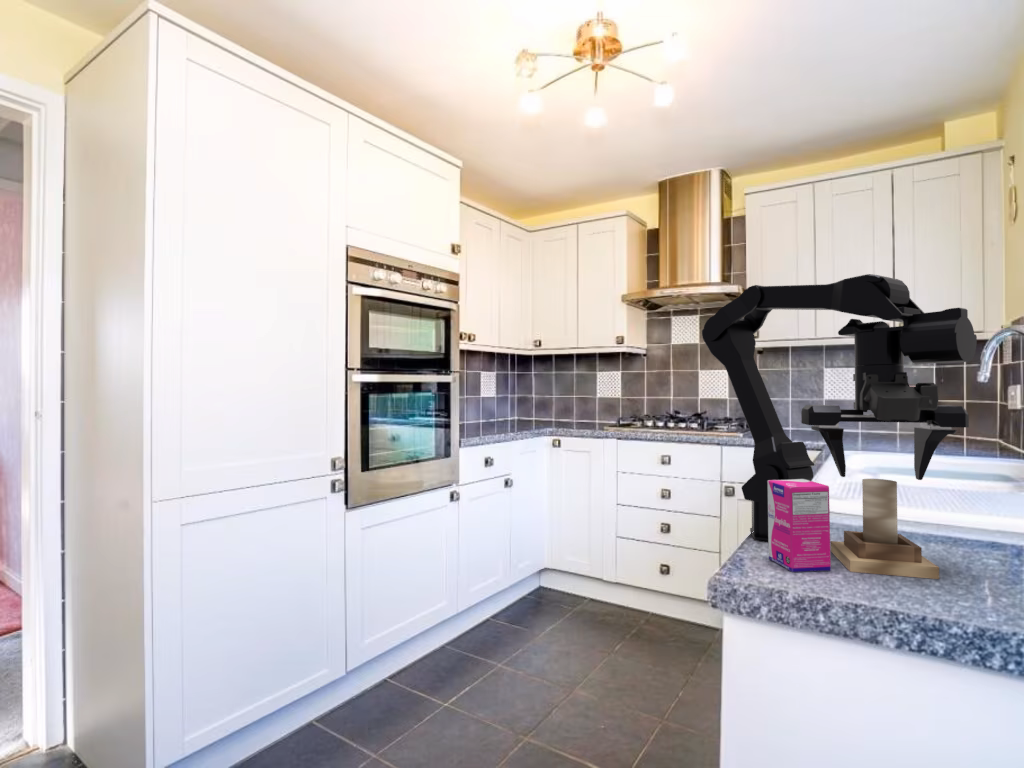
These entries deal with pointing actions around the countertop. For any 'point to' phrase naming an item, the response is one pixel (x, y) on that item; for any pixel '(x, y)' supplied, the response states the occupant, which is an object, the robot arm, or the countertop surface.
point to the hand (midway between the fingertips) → (880, 478)
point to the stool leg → (880, 511)
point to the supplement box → (799, 525)
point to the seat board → (883, 557)
